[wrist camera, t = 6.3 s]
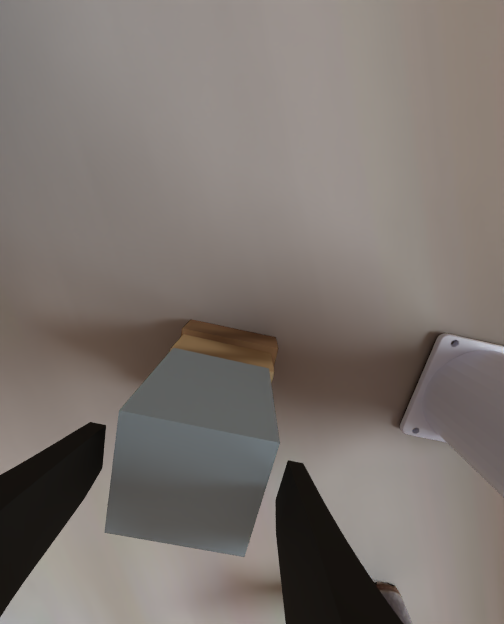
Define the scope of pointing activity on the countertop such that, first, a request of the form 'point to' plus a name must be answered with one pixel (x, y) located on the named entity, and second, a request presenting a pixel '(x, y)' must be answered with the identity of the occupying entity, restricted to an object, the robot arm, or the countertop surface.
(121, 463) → the slate block
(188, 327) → the walnut slab
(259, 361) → the oak slab
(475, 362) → the robot arm
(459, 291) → the countertop surface
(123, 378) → the countertop surface
